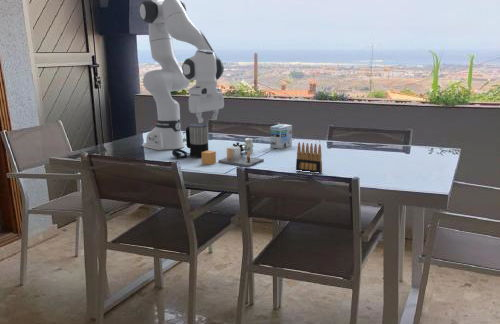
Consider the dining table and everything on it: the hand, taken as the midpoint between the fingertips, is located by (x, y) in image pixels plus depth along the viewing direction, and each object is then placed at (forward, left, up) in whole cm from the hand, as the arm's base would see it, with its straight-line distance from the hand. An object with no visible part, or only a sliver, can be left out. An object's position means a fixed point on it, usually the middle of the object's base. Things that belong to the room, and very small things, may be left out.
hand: (207, 121), depth 202 cm
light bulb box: (+10, +47, -19) cm, 52 cm away
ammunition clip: (+44, +9, -19) cm, 49 cm away
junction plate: (+11, +9, -18) cm, 23 cm away
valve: (+3, +24, -19) cm, 30 cm away
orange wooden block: (0, 0, -18) cm, 18 cm away
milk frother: (-15, +6, -19) cm, 25 cm away
